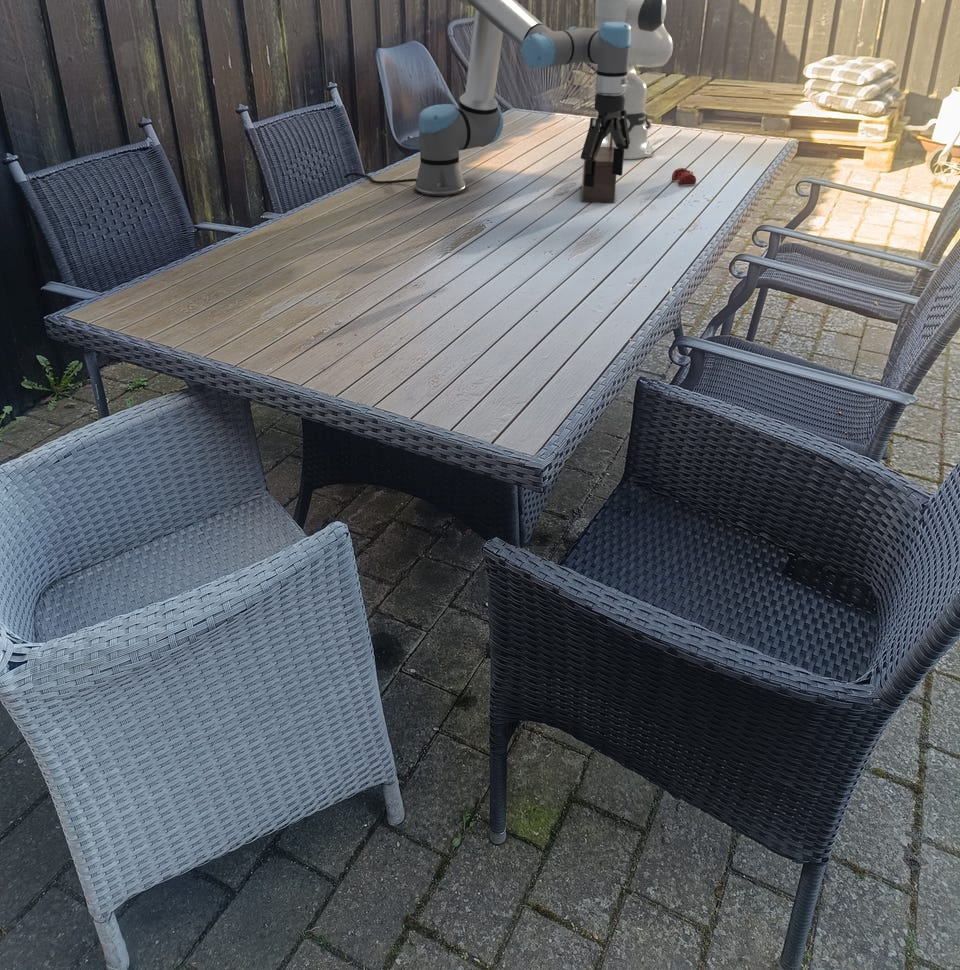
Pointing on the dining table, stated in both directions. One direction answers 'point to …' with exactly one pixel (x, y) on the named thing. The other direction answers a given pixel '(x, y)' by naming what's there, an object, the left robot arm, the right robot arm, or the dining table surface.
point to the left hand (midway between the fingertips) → (603, 180)
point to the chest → (600, 185)
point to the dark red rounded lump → (684, 176)
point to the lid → (605, 155)
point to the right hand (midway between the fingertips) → (604, 98)
